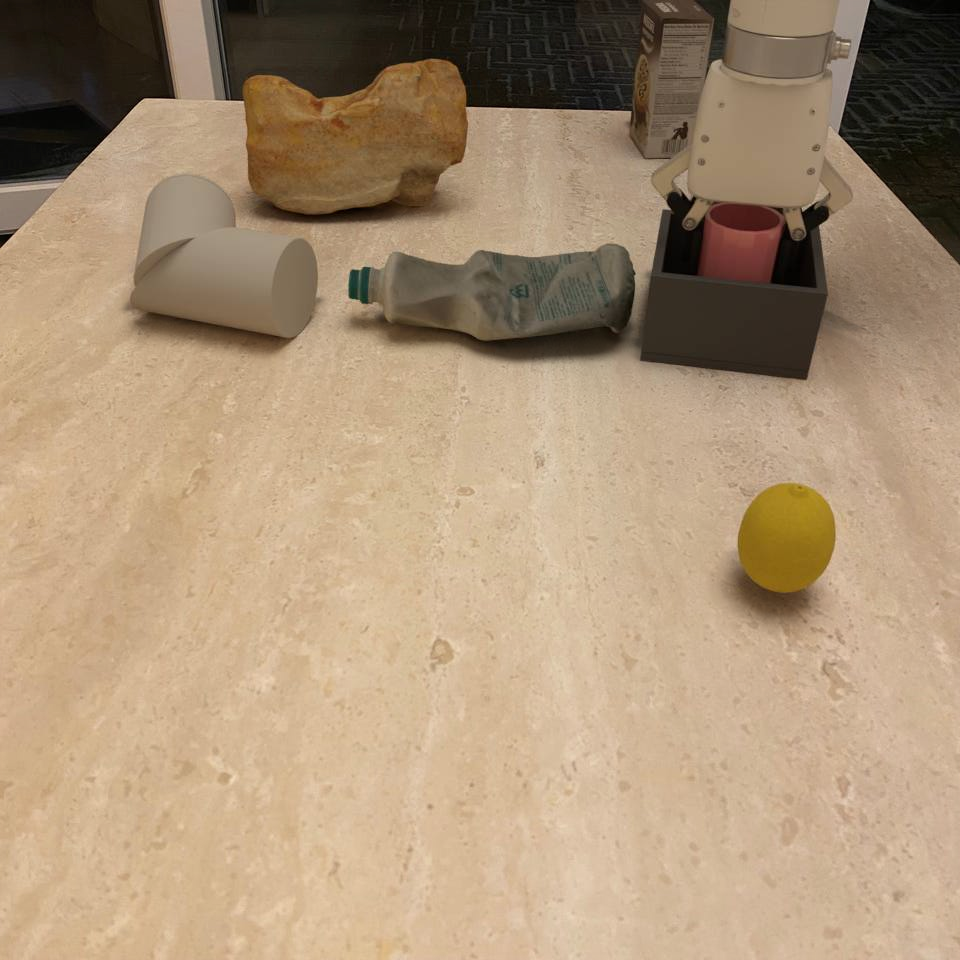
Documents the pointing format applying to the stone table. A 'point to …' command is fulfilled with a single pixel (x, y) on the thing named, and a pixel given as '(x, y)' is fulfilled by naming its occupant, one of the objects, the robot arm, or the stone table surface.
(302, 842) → the stone table surface
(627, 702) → the stone table surface
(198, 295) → the l-shaped cylinder
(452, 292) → the detergent
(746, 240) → the pink cup
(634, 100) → the coffee box
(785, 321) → the dark gray open box
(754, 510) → the lemon
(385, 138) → the tan saddle-shaped rock
